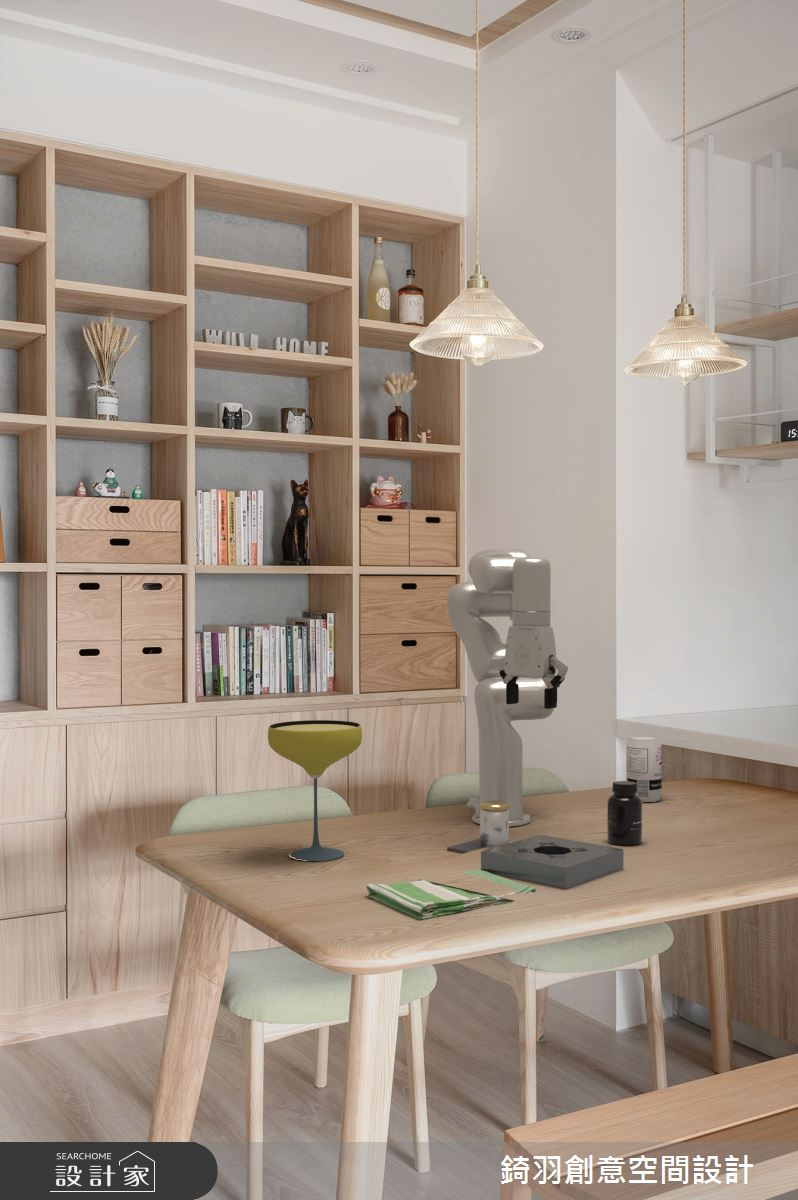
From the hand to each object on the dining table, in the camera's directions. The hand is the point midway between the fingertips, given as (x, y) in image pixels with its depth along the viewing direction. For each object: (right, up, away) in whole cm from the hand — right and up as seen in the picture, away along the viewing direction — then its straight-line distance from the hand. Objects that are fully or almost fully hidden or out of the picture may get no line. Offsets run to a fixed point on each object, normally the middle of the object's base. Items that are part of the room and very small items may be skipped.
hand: (531, 705), depth 222 cm
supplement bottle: (+19, -28, +1) cm, 34 cm away
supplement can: (+33, -27, +46) cm, 63 cm away
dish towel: (-18, -29, -37) cm, 50 cm away
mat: (-8, -28, -4) cm, 29 cm away
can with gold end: (-8, -27, -4) cm, 28 cm away
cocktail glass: (-42, -28, -8) cm, 51 cm away
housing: (+1, -28, -24) cm, 37 cm away
